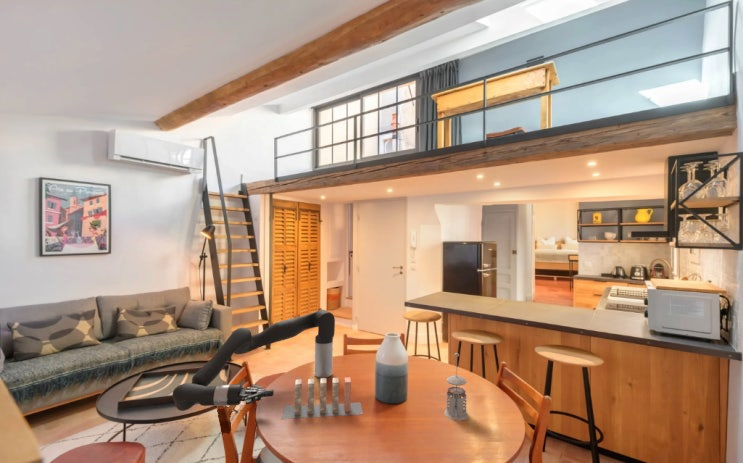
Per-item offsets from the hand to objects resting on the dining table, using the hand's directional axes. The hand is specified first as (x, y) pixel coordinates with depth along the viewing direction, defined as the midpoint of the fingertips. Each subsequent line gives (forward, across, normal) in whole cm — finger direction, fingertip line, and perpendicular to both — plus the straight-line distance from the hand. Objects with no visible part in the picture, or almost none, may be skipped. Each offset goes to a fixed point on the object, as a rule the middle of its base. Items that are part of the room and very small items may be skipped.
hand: (273, 392), depth 138 cm
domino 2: (+15, 0, -8) cm, 17 cm away
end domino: (+30, 0, -8) cm, 31 cm away
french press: (+74, +8, -9) cm, 75 cm away
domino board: (+20, 0, -9) cm, 22 cm away
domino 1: (+10, 0, -8) cm, 13 cm away
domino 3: (+20, 0, -8) cm, 22 cm away
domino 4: (+25, 0, -8) cm, 26 cm away
